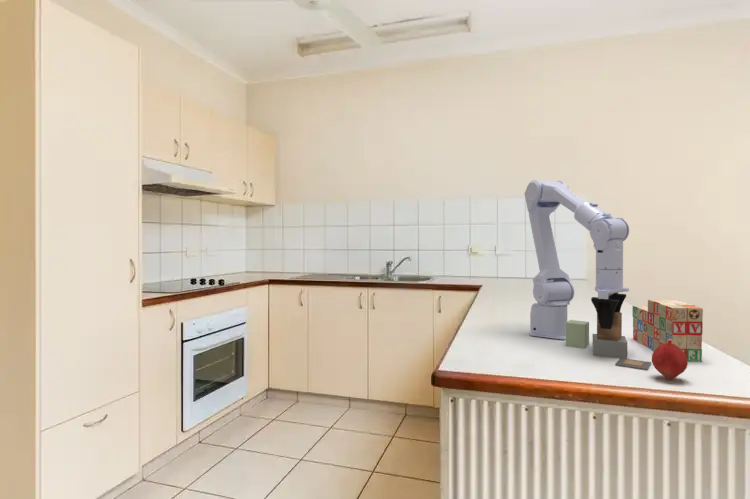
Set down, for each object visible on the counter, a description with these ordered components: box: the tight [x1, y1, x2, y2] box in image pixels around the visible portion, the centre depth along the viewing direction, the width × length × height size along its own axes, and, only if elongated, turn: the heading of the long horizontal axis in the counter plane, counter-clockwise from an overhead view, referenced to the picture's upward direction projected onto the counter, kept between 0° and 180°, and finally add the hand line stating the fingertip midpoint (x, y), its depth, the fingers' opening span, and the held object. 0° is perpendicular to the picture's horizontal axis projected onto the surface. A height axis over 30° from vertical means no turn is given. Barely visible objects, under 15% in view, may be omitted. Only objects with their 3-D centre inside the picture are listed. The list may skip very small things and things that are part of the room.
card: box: [614, 358, 652, 371], centre depth 95 cm, size 6×6×1 cm
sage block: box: [565, 319, 590, 349], centre depth 112 cm, size 4×4×6 cm
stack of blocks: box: [632, 298, 704, 363], centre depth 107 cm, size 21×6×12 cm, turn 170°
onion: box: [651, 339, 689, 380], centre depth 85 cm, size 6×6×8 cm
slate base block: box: [592, 333, 628, 359], centre depth 104 cm, size 7×7×4 cm
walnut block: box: [596, 311, 623, 341], centre depth 104 cm, size 4×4×6 cm
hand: (609, 325), depth 104 cm, fingers open, 7 cm apart
